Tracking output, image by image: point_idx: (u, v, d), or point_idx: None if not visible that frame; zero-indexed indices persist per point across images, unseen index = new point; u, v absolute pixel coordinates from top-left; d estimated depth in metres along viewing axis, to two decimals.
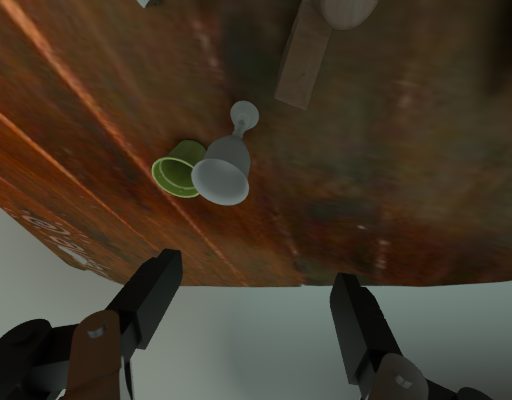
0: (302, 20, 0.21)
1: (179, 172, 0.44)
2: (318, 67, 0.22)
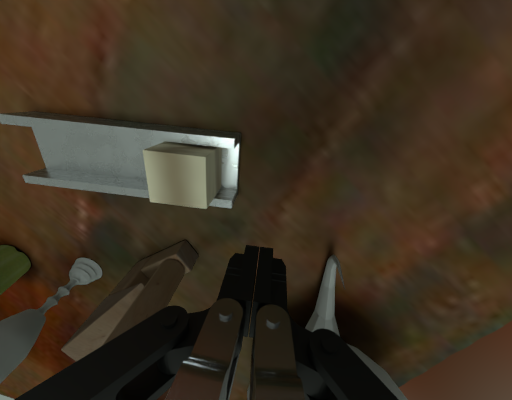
0: (131, 295, 0.27)
1: None
2: None
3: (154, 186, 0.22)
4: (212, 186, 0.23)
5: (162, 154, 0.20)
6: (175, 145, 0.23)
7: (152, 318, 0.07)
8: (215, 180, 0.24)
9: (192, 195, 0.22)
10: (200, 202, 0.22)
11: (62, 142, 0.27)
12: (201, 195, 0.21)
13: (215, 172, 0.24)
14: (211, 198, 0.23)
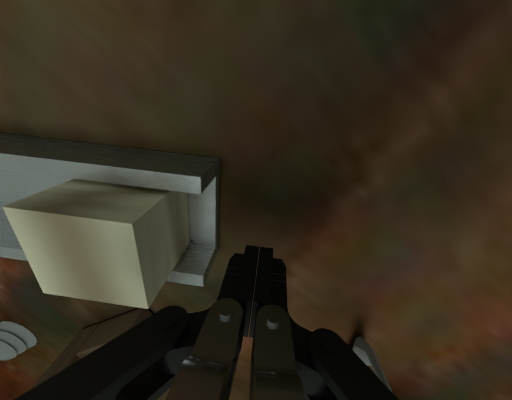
0: None
1: None
2: None
3: (44, 270, 0.11)
4: (164, 258, 0.13)
5: (43, 215, 0.10)
6: (93, 186, 0.12)
7: (152, 318, 0.07)
8: (172, 243, 0.14)
9: (117, 287, 0.11)
10: (134, 298, 0.11)
11: None
12: (135, 288, 0.11)
13: (171, 231, 0.13)
14: (163, 279, 0.13)
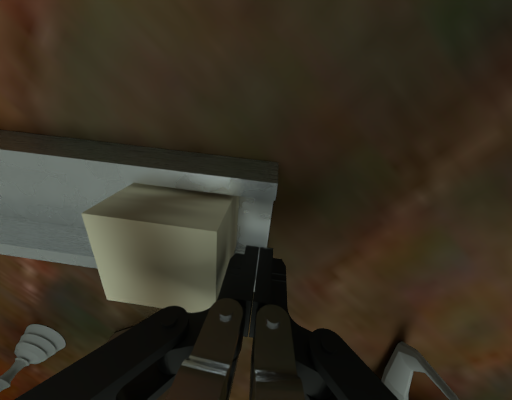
0: None
1: None
2: None
3: (112, 277, 0.11)
4: (225, 264, 0.13)
5: (123, 222, 0.09)
6: (156, 191, 0.12)
7: (152, 318, 0.07)
8: (229, 248, 0.14)
9: (187, 294, 0.11)
10: (203, 305, 0.11)
11: None
12: (206, 295, 0.11)
13: (230, 236, 0.13)
14: None
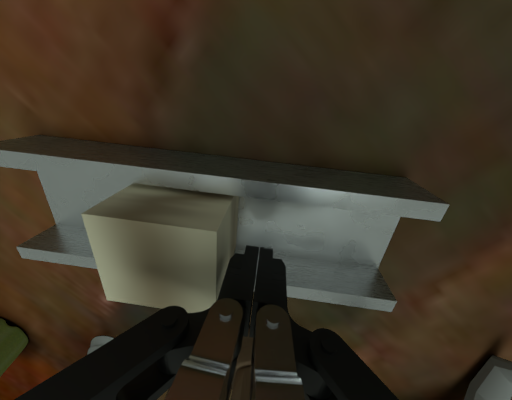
0: None
1: None
2: None
3: (112, 277, 0.11)
4: (225, 265, 0.13)
5: (123, 223, 0.09)
6: (156, 191, 0.12)
7: (152, 318, 0.07)
8: (229, 248, 0.14)
9: (187, 294, 0.11)
10: (203, 305, 0.11)
11: (86, 187, 0.16)
12: (206, 295, 0.11)
13: (230, 236, 0.13)
14: None
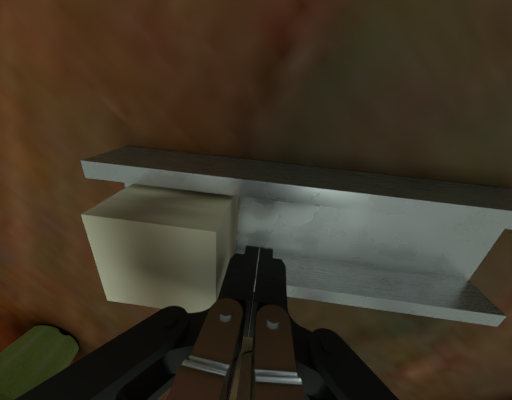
0: None
1: None
2: None
3: (113, 277, 0.11)
4: (225, 265, 0.13)
5: (123, 223, 0.09)
6: (156, 191, 0.12)
7: (152, 318, 0.07)
8: (229, 248, 0.14)
9: (187, 294, 0.11)
10: (203, 305, 0.11)
11: None
12: (206, 295, 0.11)
13: (230, 236, 0.13)
14: None
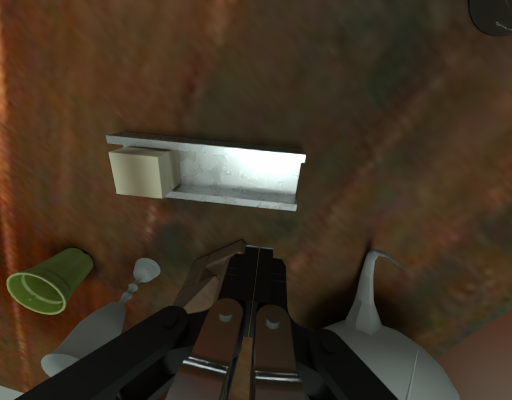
0: (208, 286, 0.32)
1: None
2: None
3: (119, 181, 0.27)
4: (168, 181, 0.29)
5: (124, 155, 0.26)
6: (137, 148, 0.28)
7: (152, 318, 0.07)
8: (172, 176, 0.30)
9: (149, 187, 0.27)
10: (156, 192, 0.28)
11: None
12: (157, 187, 0.27)
13: (171, 169, 0.30)
14: (168, 190, 0.29)
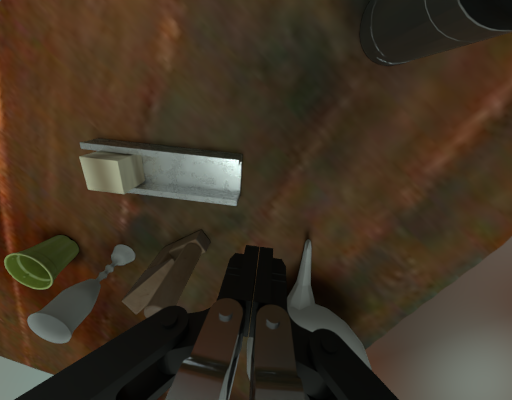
0: (165, 267, 0.39)
1: None
2: None
3: (89, 179, 0.34)
4: (130, 179, 0.36)
5: (91, 159, 0.32)
6: (105, 153, 0.35)
7: (152, 318, 0.07)
8: (134, 176, 0.37)
9: (113, 185, 0.34)
10: (119, 189, 0.34)
11: None
12: (119, 185, 0.34)
13: (133, 170, 0.36)
14: (130, 187, 0.36)
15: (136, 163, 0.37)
